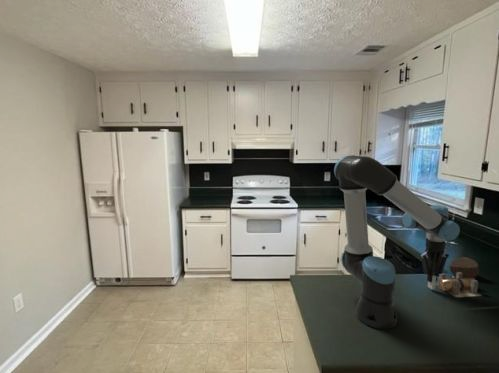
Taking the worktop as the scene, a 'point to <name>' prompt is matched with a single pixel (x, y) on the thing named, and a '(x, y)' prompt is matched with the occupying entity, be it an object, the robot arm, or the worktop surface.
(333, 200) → the worktop surface
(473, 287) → the board
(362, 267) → the robot arm
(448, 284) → the tube
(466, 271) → the rock
